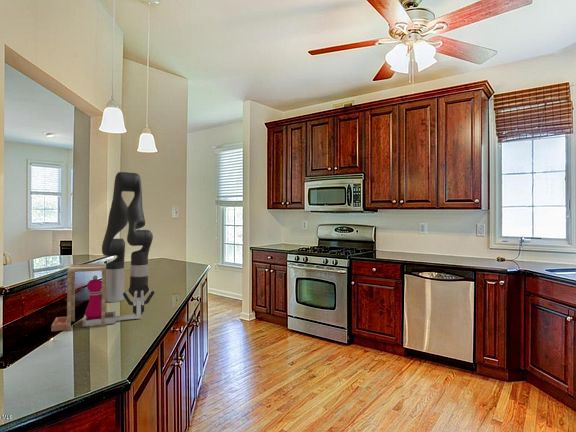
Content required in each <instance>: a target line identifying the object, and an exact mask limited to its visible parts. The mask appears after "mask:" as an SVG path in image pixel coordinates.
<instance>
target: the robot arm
mask: <svg viewBox="0 0 576 432" xmlns="http://www.w3.org/2000/svg"><path fill="white" fill-rule="evenodd" d="M112 192H113V194H112V201H111V205H110V209H109V214H108V218H107V219H108V220H107V227H106V230H105V234H104V237H103V239H102V240H103V241H102V245H101V253H102V255H103V256H105V257H115V256H116V258H114V259H113V260H110V261H108V262H106V303H115V302H116V303H117V302H121V301H124V299H125V301H126V302H127V304H128V305H129V306H132V313H133V314H136V300H137V298H141V315H142V314H143V313H144V312H145V305H147V304H149V303H150V301H151V300H152V298H153V297H154V294H155V290H152V289H150V287H149V252H150V249H151V246H152V242H153V237H154V235H153V232H152V231H151V230H149V229H143V228H144V227H145V225H146V219H145V215H144V214H145V213H144V210H143V189H142V178H141V176H140V174H139V173H136V172H127V171H126V172H125V171H118V172H117V173H116V175H115V179H114V183H113V191H112ZM123 192H130V193H132V192H133V193H134V194H133V198H132V200H131V201H130V202H129V204H128V205H127V203H126V202H125V200H124V198H123V196H122V194H123ZM127 225H128V231H127V235H126V241H127V244H128V245H130V246H131V247H137V246H140V247H141V248H140V249H138V250H135V251H132V252H131V256H130V269H129V288H127V289H128V290H126V291H125V257H126V255H125V254H126V241H125V240H124V238H116V235H118V234H119V233H120V232H121V231H122V230H124V228H125V227H126V226H127ZM141 228H142V229H141ZM147 294H148V296H147V297H146V299H145V296H146V295H147ZM129 295H131V296H132V297H133V299H132V300H131V299H130V297H129Z"/></svg>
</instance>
